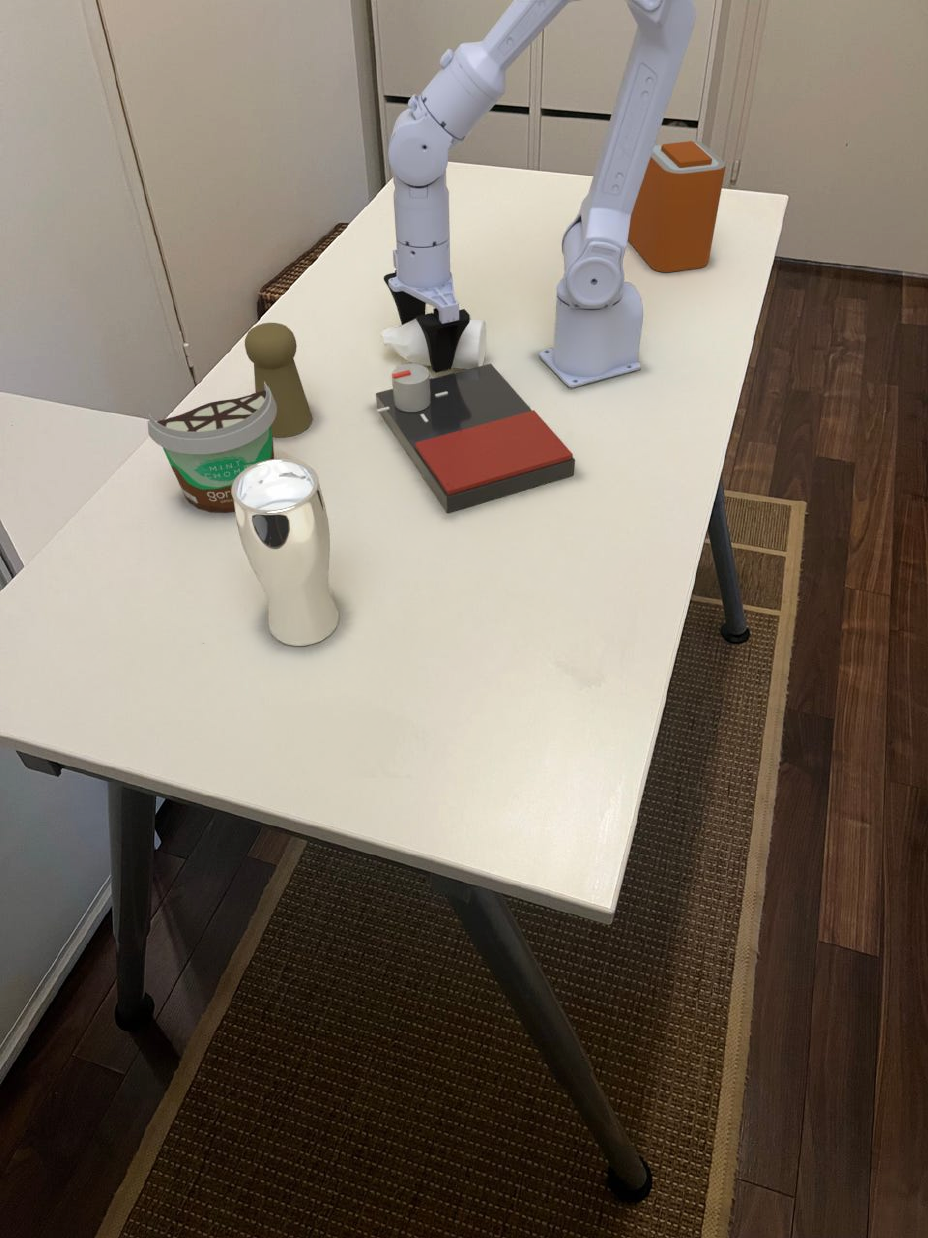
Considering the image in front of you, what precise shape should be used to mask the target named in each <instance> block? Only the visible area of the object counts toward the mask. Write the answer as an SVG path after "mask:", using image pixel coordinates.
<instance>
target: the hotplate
mask: <svg viewBox="0 0 928 1238" xmlns="http://www.w3.org/2000/svg"><path fill="white" fill-rule="evenodd" d="M415 448H416V449H417V451H418V452H419V454H420V455H421V457H422V458H423V460H424V461H425V463H426V464H427V466H428V467H429V468H430V470H431V471H432V473H433V474H434V476H435V477H436V479H437V480H438V482H439V483H440V484H441V486H442V487H443V489H444V490H445V492H446V493H447V495H451V494H455V493H458V492H461V491H465V490H468V489H472V488H475V487H478V486H482V485H485V484H489V483H492V482H495V481H499V480H502V479H506V478H509V477H512V476H516V475H519V474H523V473H526V472H529V471H533V470H536V469H540V468H543V467H547V466H550V465H553V464H557V463H560V462H564V461H567V460H570V459H573V458H574V453H572V451H571V450H570V449H569V448H568V447H567V446H566V445H565V444H564V442H563V441H562V440H561V439H560V437H558V436H557V434H556V433H555V432H554V431H553V430H552V429H551V427H549V425H548V424H547V423H546V422H545V420H543V418H542V417H541V416H540V415H539V413H537V411H536V410H534V409H533V410H532V411H529V412H525V413H522V414H518V415H515V416H511V417H507V418H504V419H500V420H496V421H493V422H489V423H485V424H482V425H478V426H474V427H471V428H467V429H464V430H460V431H456V432H453V433H449V434H445V435H442V436H438V437H434V438H431V439H427V440H423V441H420V442H416V443H415Z"/></svg>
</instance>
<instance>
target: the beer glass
mask: <svg viewBox="0 0 928 1238" xmlns="http://www.w3.org/2000/svg"><path fill="white" fill-rule="evenodd" d="M231 493H232V497H233V501H234V508H235V512H234V515H235V520H236V526H237V531H238V535H239V538H240V542H241V545H242V549H243V551H244V554H245V556H246V558H247V561H248V563H249V565H250V566H251V569H252V571H253V573H254V575H255V576H256V579H257V581H258V582H259V584H260V586H261V588H262V591H263V592H264V594H265V597H266V601H267V609H268V610H267V623H268V629H269V631H270V633H271V635H272V636H273V637H274V638H275V639H276V640H277V641H278V642H281V643H282V644H285V645H288V646H291V647H292V646H293V647H305V646H311V645H314V644H317V643H320V642H321V641H323V640H325V639H327V638H328V637H329V636H330V635H331V634H333V632H334V631H335V630H336V628H337V626H338V623H339V620H340V619H339V618H340V614H339V609H338V607H337V605H336V603H335V600H334V598H333V595H332V593H331V589H330V583H329V573H330V558H331V557H330V556H331V532H330V531H331V530H330V524H329V517H328V513H327V508H326V503H325V500H324V496H323V493H322V490H321V486H320V482H319V475H318V474H317V472H316V471H315V470H314V468H313V467H312V466H310V465H309V464H307V463H305V462H303V461H300V460H298V459H291V458H274V459H271V460H266V461H262V462H259V463H256V464H254V465H252V466H250V467H248V468H246V469H245V470H244V471H242V472H241V473H240V474H239V475H238V476H237V477H236V479H235V480H234V482H233V484H232V489H231Z"/></svg>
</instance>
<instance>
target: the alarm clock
mask: <svg viewBox="0 0 928 1238" xmlns="http://www.w3.org/2000/svg"><path fill="white" fill-rule="evenodd" d="M725 172H726V163H725V161H723V159H721V158H720V157H719V156H718V155H717V154H715V152H713V151H712V150H711V149H710V148H709V147H708V146H706V145H705V144H704V143H702V142H700V141H698V140H688V141H680V142H670V143H663V144H658V145H654V148H653V151H652V154H651V157H650V160H649V163H648V166H647V169H646V172H645V175H644V178H643V181H642V184H641V187H640V190H639V193H638V196H637V199H636V202H635V205H634V208H633V211H632V214H631V219H630V227H629V234H628V242H629V243H630V244H631V245H632V247H633V248H634V249H635V250H636V251H637V253H638V254H639V255H640V257H641V258H642V259H643V260H644V261H645V262H646V263H647V265H648V266H649V267H650V268H651V269H652V270H654V271H657V272H661V273H672V272H680V271H688V270H696V269H701V268H704V267H706V266H707V265H708V264H709V262H710V256H711V252H712V251H711V250H712V245H713V240H714V235H715V228H716V222H717V216H718V211H719V207H720V200H721V194H722V189H723V183H724V177H725Z"/></svg>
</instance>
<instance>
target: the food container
mask: <svg viewBox="0 0 928 1238" xmlns="http://www.w3.org/2000/svg"><path fill="white" fill-rule="evenodd" d="M276 413H277V406H276V402H275V400H274V398H273V395H272V393H271V391H270V389H269V387H267V385H266V383H265V381H264V391H261V392H257V393H256V392H254V393H251V394H249V395H245V396H241V397H237V398H231V399H224V400H223V399H222V400H217V401H210V402H208V403H205V404H203V405H200V406H198V407H196V408H193V409H192V410H189V411H186V412H184V413H181V414H178V415H174V416H171V417H169V418H168V417H167V418H165V419H161V420H157V421H156V420H155V419H154V418H153V417H152V416H151V414H150V413H148V418H149V420H147V432H148V436H149V437H150V439H151V440H153V441H154V443H156V444H157V445H158V446H160V447H161V448H162V449H163V451H164V454H165V456H166V458H167V460H168V462H169V466H170V467H171V469H172V472H173V473H174V476H175V479H176V480H177V482H178V485H179V487H180V489H181V492H182V493H183V495H184V497H185V500H187V502H188V503H189V504H191V505H192V506H194V507H195V508H197V509H198V510H202V511H206V512H208V513H215V514H216V513H219V514H228V513H229V514H230V513H235V508H234V501H233V497H232V493H231V489H232V484H233V482H234V480H235V479H236V477H237V476H238V475H239V474H240V473H241V472H242V471H244V470H245V469H246V468H248V467H250V466H252V465H254V464H256V463H259V462H262V461H266V460H271V459H275V453H274V452H275V451H274V439H273V438H274V437H272V425H271V424H272V423H273V421H274V419H275V417H276Z"/></svg>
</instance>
